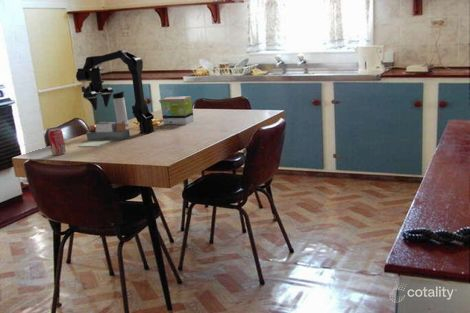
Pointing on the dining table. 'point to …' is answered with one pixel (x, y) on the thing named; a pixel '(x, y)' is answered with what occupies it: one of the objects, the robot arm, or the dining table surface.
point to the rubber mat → (94, 144)
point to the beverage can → (56, 141)
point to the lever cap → (106, 127)
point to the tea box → (177, 110)
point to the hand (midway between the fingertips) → (101, 108)
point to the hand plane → (108, 133)
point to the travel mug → (120, 108)
